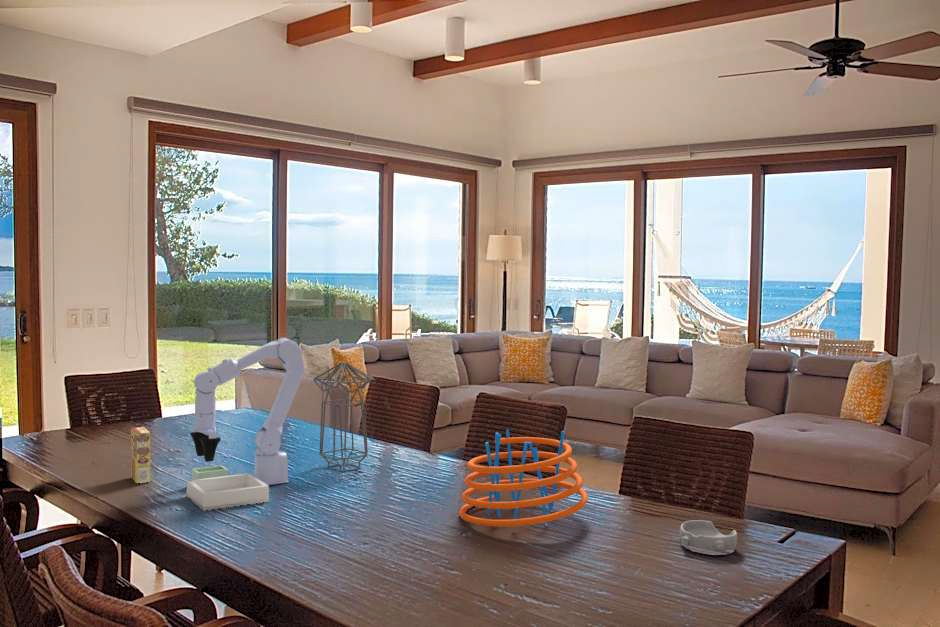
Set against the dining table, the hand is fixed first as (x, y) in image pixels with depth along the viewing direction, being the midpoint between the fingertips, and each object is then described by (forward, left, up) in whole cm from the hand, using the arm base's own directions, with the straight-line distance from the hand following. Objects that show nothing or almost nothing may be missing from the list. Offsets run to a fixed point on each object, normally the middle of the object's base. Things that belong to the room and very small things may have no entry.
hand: (205, 458), depth 240 cm
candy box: (+14, -17, -9) cm, 24 cm away
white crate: (-2, +15, -9) cm, 18 cm away
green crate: (-2, -1, -9) cm, 9 cm away
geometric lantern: (-46, -3, -9) cm, 47 cm away
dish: (-89, +111, -9) cm, 143 cm away
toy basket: (-64, +70, -9) cm, 95 cm away
